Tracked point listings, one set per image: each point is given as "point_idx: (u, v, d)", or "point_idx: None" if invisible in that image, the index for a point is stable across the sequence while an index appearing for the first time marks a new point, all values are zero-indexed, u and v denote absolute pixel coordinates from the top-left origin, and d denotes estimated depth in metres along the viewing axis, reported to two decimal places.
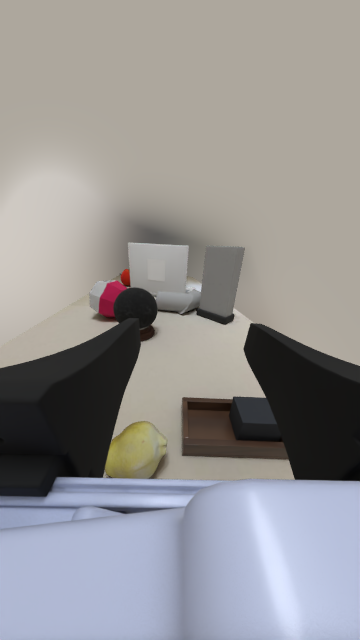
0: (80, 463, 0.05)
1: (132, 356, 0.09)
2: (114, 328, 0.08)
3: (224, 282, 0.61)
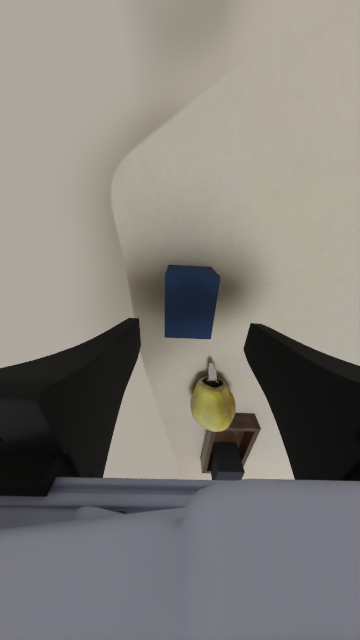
0: (80, 463, 0.05)
1: (132, 356, 0.09)
2: (114, 328, 0.08)
3: None
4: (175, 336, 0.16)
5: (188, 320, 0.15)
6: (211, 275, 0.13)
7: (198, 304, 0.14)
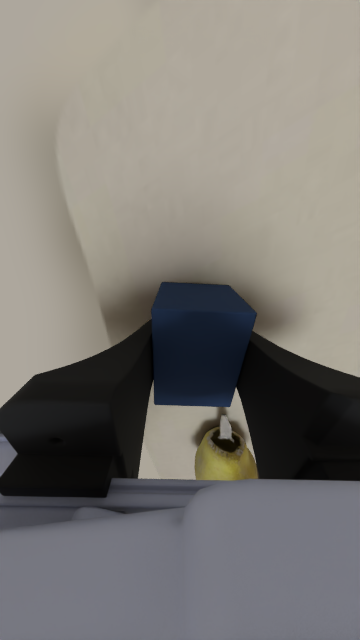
0: (127, 464, 0.05)
1: None
2: (141, 329, 0.08)
3: None
4: (172, 403, 0.09)
5: (194, 381, 0.09)
6: (239, 311, 0.07)
7: (213, 359, 0.08)
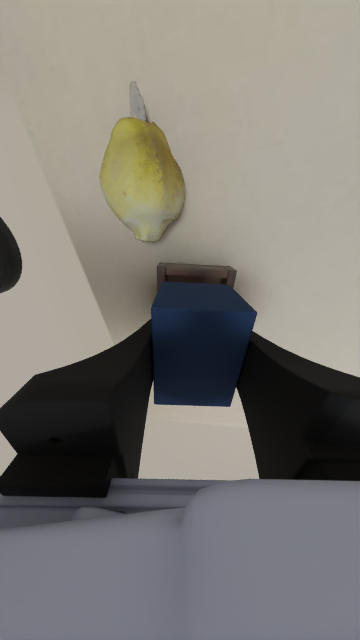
0: (127, 464, 0.05)
1: None
2: (141, 329, 0.08)
3: None
4: (172, 403, 0.09)
5: (195, 381, 0.09)
6: (239, 310, 0.07)
7: (213, 358, 0.08)
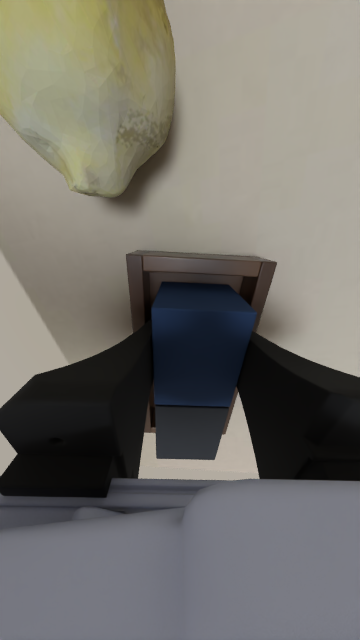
0: (127, 464, 0.05)
1: None
2: (141, 329, 0.08)
3: None
4: (172, 403, 0.09)
5: (195, 381, 0.09)
6: (239, 310, 0.07)
7: (213, 359, 0.08)
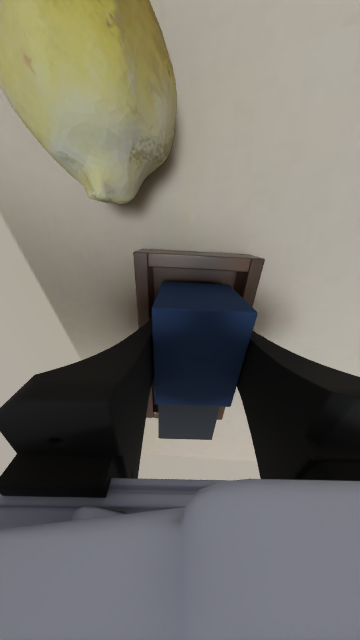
0: (127, 464, 0.05)
1: None
2: (141, 329, 0.08)
3: None
4: (172, 403, 0.09)
5: (195, 381, 0.09)
6: (240, 310, 0.07)
7: (213, 359, 0.08)
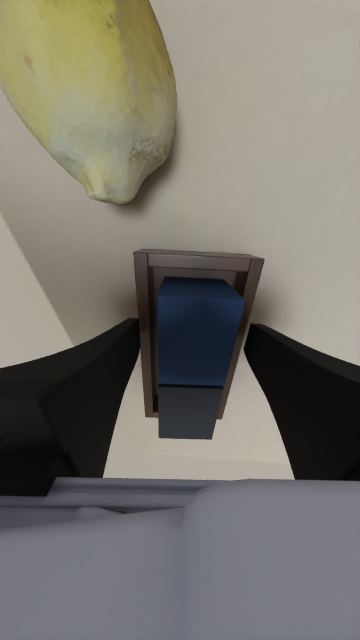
0: (80, 463, 0.05)
1: (132, 356, 0.09)
2: (114, 328, 0.08)
3: None
4: (174, 382, 0.11)
5: (193, 362, 0.10)
6: (231, 298, 0.08)
7: (209, 341, 0.09)
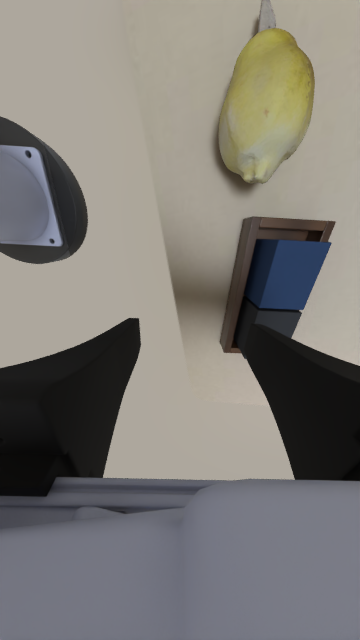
0: (80, 463, 0.05)
1: (132, 356, 0.09)
2: (114, 328, 0.08)
3: None
4: (270, 306, 0.16)
5: (287, 289, 0.15)
6: (322, 242, 0.14)
7: (302, 273, 0.14)
